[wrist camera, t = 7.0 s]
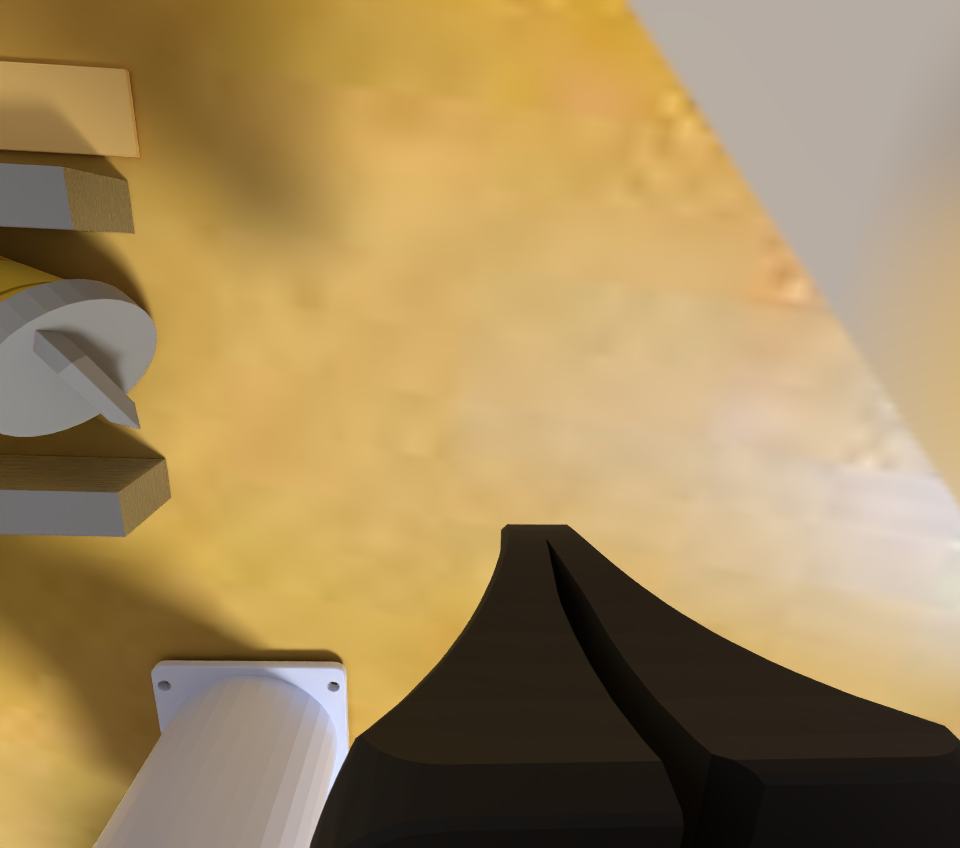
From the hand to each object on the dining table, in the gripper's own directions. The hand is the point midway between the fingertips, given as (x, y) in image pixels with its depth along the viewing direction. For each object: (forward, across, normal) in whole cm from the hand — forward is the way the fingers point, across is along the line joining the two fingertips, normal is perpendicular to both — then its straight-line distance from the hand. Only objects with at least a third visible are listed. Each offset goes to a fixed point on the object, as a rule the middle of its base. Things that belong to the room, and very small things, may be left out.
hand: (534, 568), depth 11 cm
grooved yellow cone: (+6, +11, -1) cm, 13 cm away
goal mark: (+10, +16, -10) cm, 21 cm away
